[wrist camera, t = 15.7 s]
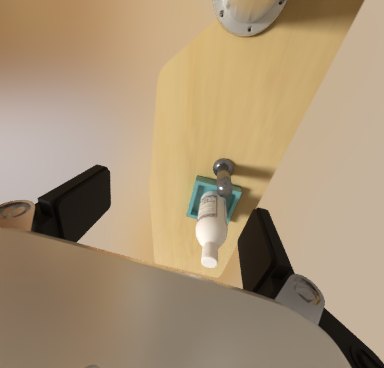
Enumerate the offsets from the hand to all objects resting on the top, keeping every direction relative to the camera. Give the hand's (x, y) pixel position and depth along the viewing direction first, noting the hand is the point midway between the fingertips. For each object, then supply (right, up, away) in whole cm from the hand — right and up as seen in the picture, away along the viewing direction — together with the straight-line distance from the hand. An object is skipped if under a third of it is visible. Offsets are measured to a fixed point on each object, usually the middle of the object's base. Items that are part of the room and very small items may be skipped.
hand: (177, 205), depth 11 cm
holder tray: (+7, -3, +37) cm, 38 cm away
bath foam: (+7, -3, +37) cm, 37 cm away
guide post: (+9, +6, +33) cm, 34 cm away
